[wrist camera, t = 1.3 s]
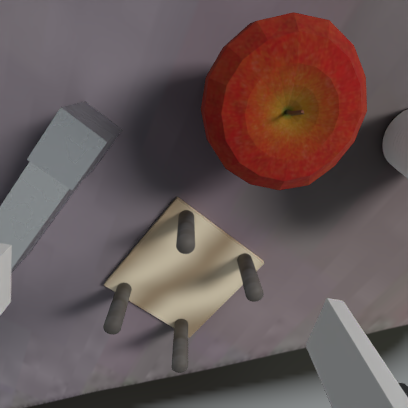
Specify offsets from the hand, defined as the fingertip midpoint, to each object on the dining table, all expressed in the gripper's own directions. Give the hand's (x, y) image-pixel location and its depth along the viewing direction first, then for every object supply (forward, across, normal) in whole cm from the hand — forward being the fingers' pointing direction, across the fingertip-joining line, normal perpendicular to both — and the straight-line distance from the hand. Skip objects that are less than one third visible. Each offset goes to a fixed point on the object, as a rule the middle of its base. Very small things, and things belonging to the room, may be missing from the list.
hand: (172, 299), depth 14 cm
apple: (+20, +6, +8) cm, 22 cm away
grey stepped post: (+20, -12, -5) cm, 24 cm away
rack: (+20, +3, -12) cm, 23 cm away
